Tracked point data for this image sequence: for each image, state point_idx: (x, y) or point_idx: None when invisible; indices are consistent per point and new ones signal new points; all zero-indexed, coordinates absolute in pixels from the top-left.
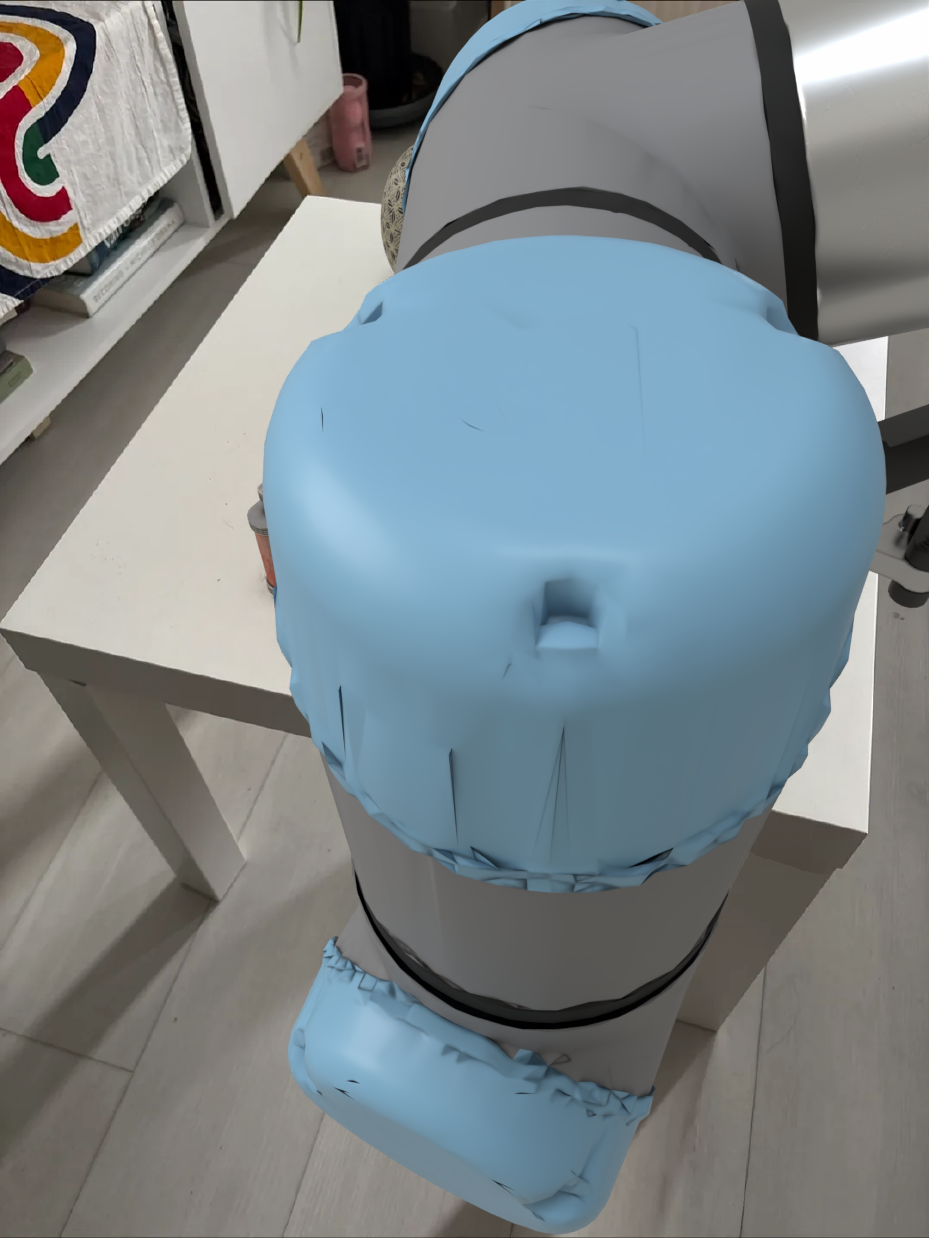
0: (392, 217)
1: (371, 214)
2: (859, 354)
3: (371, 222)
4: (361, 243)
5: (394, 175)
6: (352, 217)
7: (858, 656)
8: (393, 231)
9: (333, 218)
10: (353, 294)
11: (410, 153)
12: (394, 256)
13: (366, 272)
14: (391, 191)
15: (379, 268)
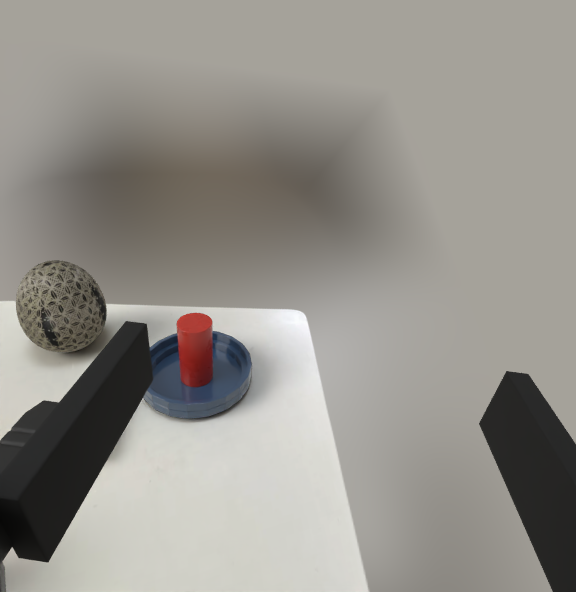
0: (20, 308)
1: None
2: (306, 350)
3: None
4: None
5: (21, 284)
6: None
7: (362, 577)
8: (22, 316)
9: (4, 306)
10: (6, 352)
11: (31, 271)
12: (26, 330)
13: (19, 337)
14: (19, 293)
15: None
